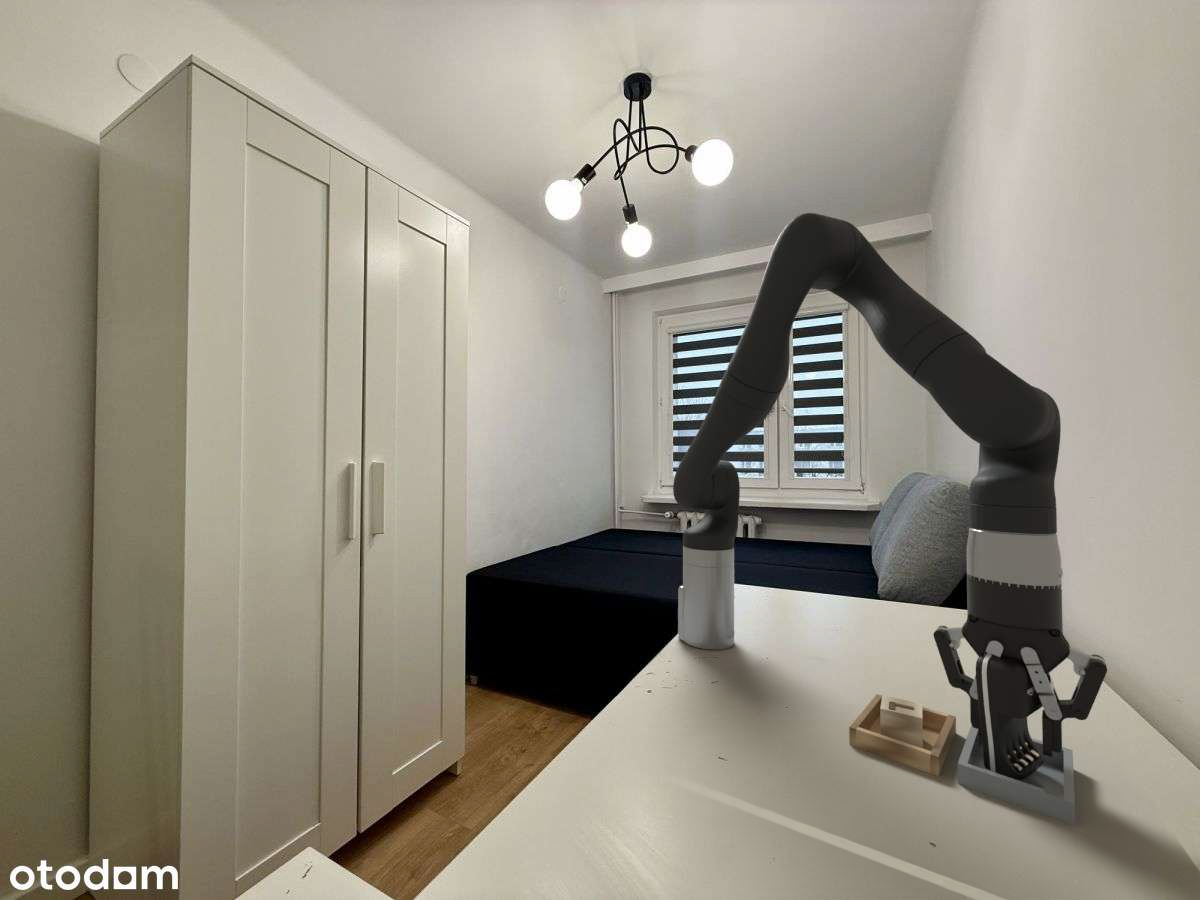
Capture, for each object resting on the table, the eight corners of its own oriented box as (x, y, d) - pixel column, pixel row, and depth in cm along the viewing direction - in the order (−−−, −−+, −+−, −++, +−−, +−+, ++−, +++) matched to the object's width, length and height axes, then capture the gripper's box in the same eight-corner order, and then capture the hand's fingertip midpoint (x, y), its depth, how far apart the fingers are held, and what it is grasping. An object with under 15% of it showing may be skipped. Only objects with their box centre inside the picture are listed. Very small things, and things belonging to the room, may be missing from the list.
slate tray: (958, 789, 49) (957, 763, 49) (973, 743, 57) (972, 721, 57) (1075, 832, 43) (1074, 803, 43) (1073, 774, 52) (1072, 749, 52)
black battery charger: (1029, 790, 47) (1018, 666, 48) (982, 771, 50) (972, 655, 51) (1057, 766, 50) (1046, 651, 51) (1011, 750, 54) (1001, 642, 54)
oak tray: (849, 749, 56) (849, 726, 56) (876, 713, 64) (876, 694, 64) (938, 782, 50) (938, 757, 50) (956, 738, 58) (955, 716, 59)
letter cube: (880, 744, 56) (880, 707, 56) (883, 729, 59) (882, 694, 59) (922, 755, 54) (922, 717, 54) (922, 739, 57) (922, 703, 57)
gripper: (923, 569, 53) (925, 731, 53) (1114, 593, 44) (1119, 792, 43) (936, 560, 59) (938, 706, 58) (1108, 579, 49) (1112, 756, 48)
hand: (1015, 742), depth 51 cm, fingers closed on black battery charger, 4 cm apart
